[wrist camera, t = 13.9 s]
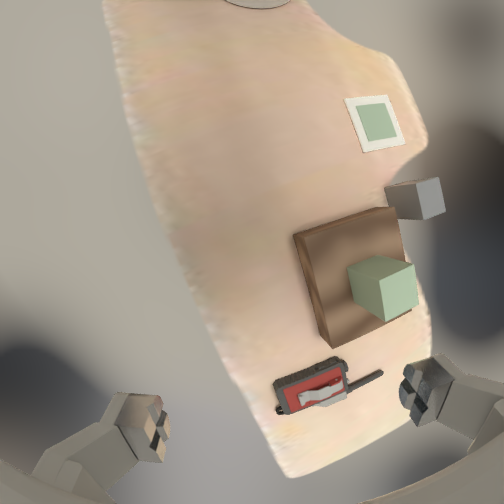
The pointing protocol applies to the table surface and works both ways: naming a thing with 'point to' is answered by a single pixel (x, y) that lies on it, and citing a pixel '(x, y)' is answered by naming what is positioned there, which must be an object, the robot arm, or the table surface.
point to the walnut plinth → (335, 269)
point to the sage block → (384, 286)
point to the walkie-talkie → (316, 386)
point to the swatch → (374, 122)
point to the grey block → (416, 199)
